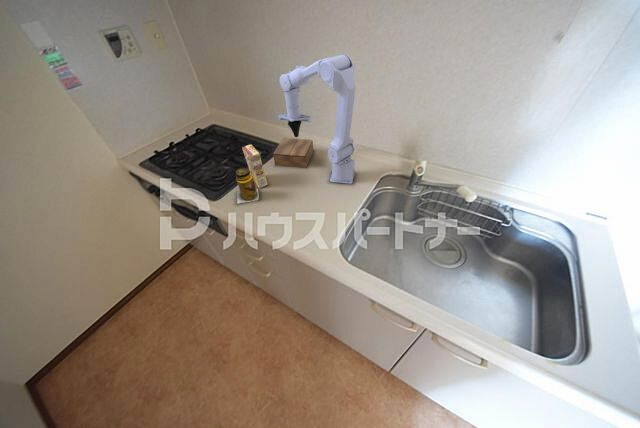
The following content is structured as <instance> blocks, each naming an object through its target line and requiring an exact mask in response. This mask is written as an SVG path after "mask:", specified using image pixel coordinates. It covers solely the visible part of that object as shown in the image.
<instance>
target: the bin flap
mask: <svg viewBox="0 0 640 428" xmlns="http://www.w3.org/2000/svg"><path fill="white" fill-rule="evenodd" d="M297 139H298V140H297V142H296V143H295V145H294V147H293V149H292V150H291V152H290V154H289V156H304V157H305V155H306V153H307V151H308V149H309V147H310V145H311V143H312V141H313V139H307V138H297Z"/></svg>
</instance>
